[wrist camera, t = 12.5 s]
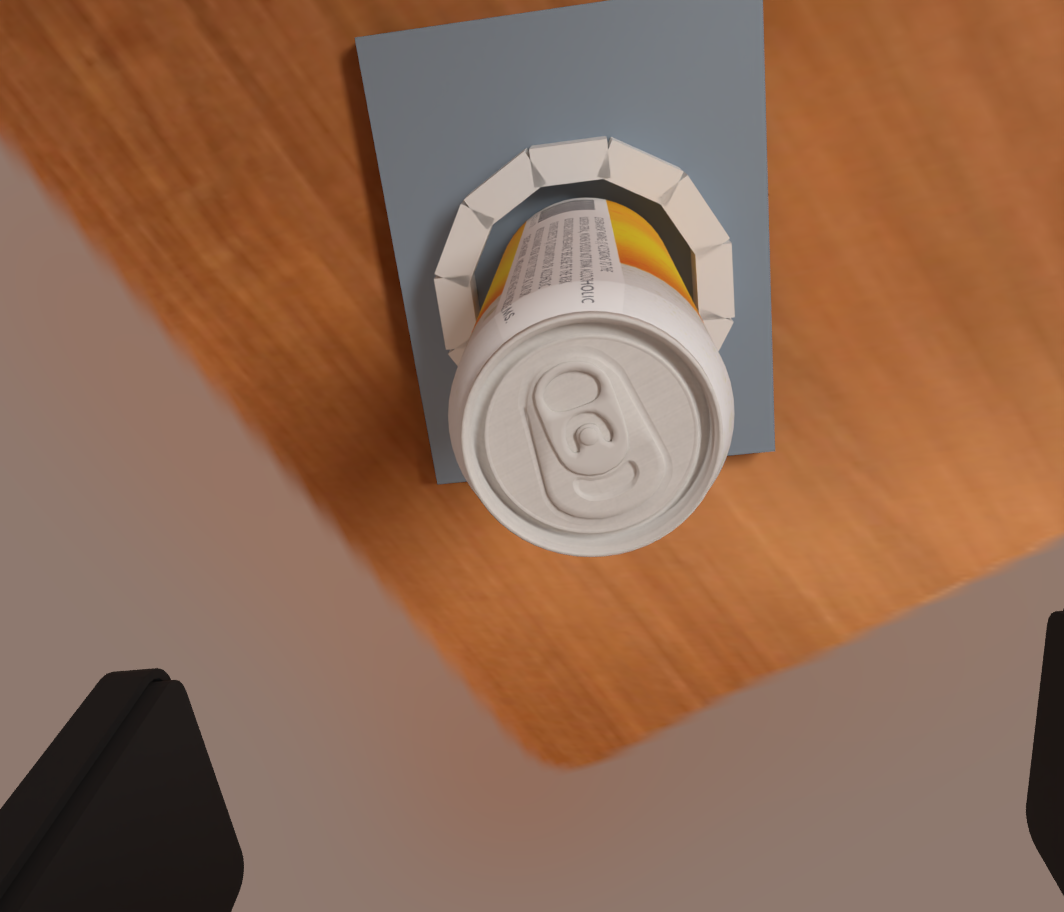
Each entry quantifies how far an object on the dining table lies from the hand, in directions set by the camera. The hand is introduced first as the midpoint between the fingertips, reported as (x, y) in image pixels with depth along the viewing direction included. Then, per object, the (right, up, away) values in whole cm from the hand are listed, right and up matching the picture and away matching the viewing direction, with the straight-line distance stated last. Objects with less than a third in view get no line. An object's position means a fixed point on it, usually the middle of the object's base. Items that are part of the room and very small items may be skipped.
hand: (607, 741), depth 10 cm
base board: (+1, +10, +23) cm, 25 cm away
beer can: (+1, +9, +22) cm, 24 cm away
